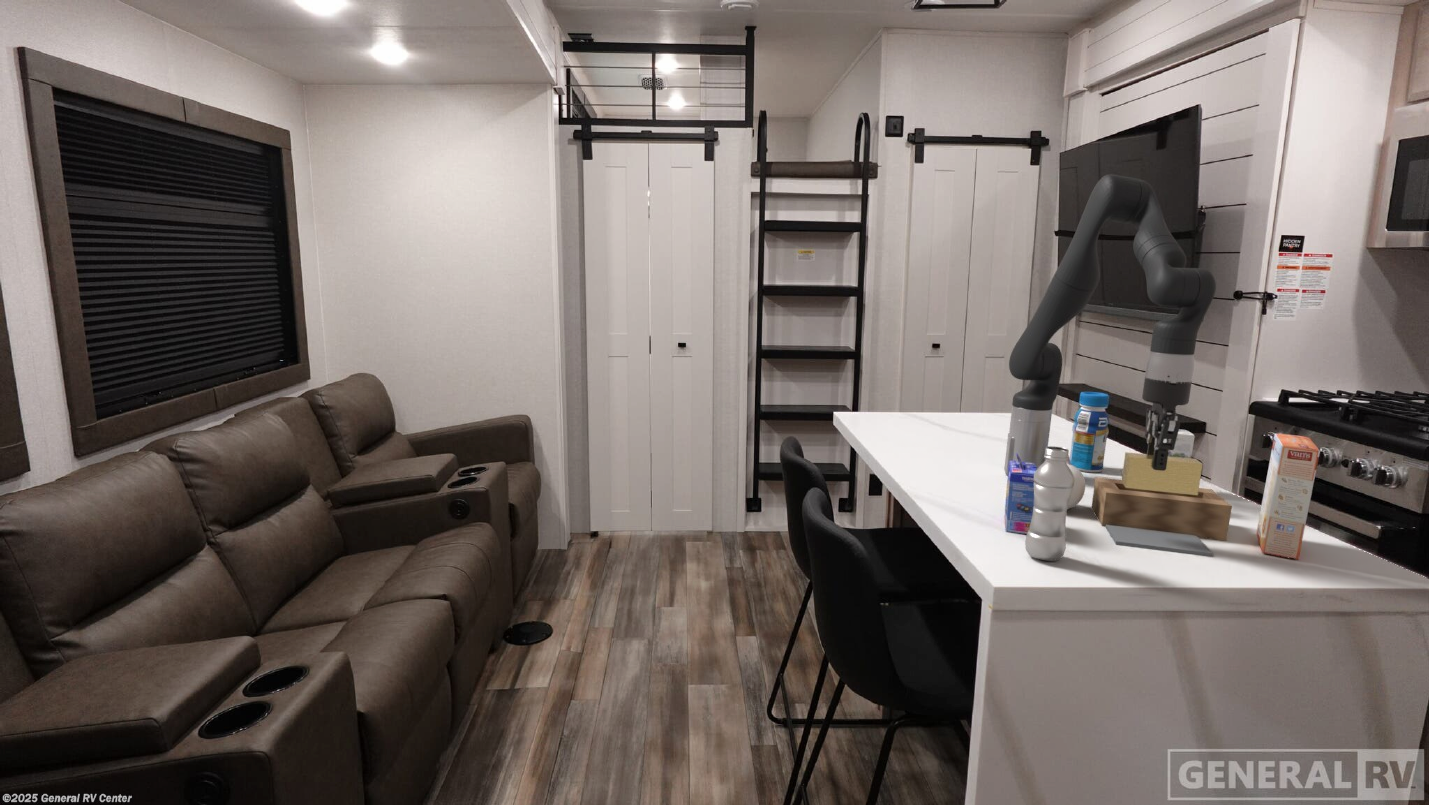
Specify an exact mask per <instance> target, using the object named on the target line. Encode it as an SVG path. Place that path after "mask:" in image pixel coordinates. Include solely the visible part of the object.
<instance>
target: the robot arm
mask: <svg viewBox="0 0 1429 805" xmlns="http://www.w3.org/2000/svg"><path fill="white" fill-rule="evenodd" d="M1106 221H1109V222H1115V223H1120V224H1130V225H1131V226H1132V227H1134V228H1135V229H1136V230H1137V233H1136V234H1135V236H1134V239H1133V243H1132V244H1133V246H1132V248H1133V252H1134V255H1135V258H1136V259H1137V261H1138V262H1139V264H1140V266H1141V267H1142V269H1143V271H1144V273H1145V281H1146V292H1147V297H1148V299H1149V300H1150V301H1151V302H1152V303H1154V304H1156V305H1158V306H1159V307H1166V308H1167V307H1169V308H1170V307H1171V308H1172V307H1173V308H1181V309H1180V310H1179V313H1178V314H1177V315H1176V316H1175V317H1172V318H1167V319H1162V320H1159V321H1157V322H1155V324H1154V325H1153V329H1152V334H1151V336H1152V337H1151V342H1150V351H1149V354H1148V358H1147V362H1146V367H1145V374H1144V381H1143V382H1144V383H1143V390H1142V395H1141V396H1142V397H1141V398H1142V400H1144V402H1148V403H1152V406H1151V407H1150V408H1149V407H1147V408H1146V411H1145V412H1146V414H1145V415H1146V416H1145V434H1144V438H1145V439H1146V443H1147V450H1146V454H1148V455H1153V463H1152V468H1153V469H1154V470H1161V471H1164V470H1166V466H1167V459H1168V451H1170V450H1174V446H1175V442H1176V439H1177V435H1178V431H1179V430H1180V427H1181V421H1180V420H1178V414H1177V412H1176V411H1177V410H1176V408H1177V407H1178V406H1186V405H1187V404H1189V402H1190V396H1191V389H1192V382H1193V376H1194V369H1195V368H1194V367H1195V351H1196V344H1197V336H1198V332H1199V330H1200V327H1201V326H1202V323H1203V321H1204V318H1205V316H1206V314H1207V312H1208V310H1209V308H1210V306H1211V304H1212V303H1213V302H1212V301H1213V300H1214V297H1215V294H1216V289H1217V282H1216V279H1215V277H1214V275H1213V274H1212V272H1211V271H1210V270H1208V269H1205V268H1200V267H1199V268H1197V267H1186V265H1187V256H1186V254H1185V252H1184V250H1183V249H1182V247H1181V245H1180V244H1179V243H1178V242H1177V241H1176V238H1174V236H1173V235H1172V233H1171V231H1170V230H1169V228H1168V225H1167V224H1166V221H1165V218H1164V215H1163V212H1162V209H1161V205H1160V203H1159V200H1158V197H1157V194H1156V192H1155V189H1154V188H1153V186H1152V185H1151V184H1150V183H1149V182H1147V181H1145V180H1143V179H1139V178H1134V177H1130V176H1125V175H1119V174H1111V173H1110V174H1106V175H1103V176H1102V177H1101V178H1100V179H1099V180H1098V181H1097V183H1096V184H1095V186H1094V188H1093V189H1092V192H1091V193H1090V195H1089V198H1088V200H1087V203H1086V205H1085V207H1084V210H1083V213H1082V215H1081V217H1080V220H1079V223H1078V225H1077V227H1076V230H1075V233H1074V235H1073V238H1071V242H1070V244H1069V246H1068V248H1067V250H1066V252H1065V254H1064V256H1063V258H1062V259H1061V261H1060V264H1059V265H1058V267H1057V268H1056V270H1055V273H1054V275H1053V276H1052V278H1051V281H1050V283H1049V285H1048V287H1047V289H1046V292H1045V293H1044V296H1043V297H1042V300H1041V302H1040V303H1039V305H1038V307H1037V309H1036V311H1035V312H1034V315H1033V317H1031V320H1030V322H1029V323H1028V325H1027V326H1026V328H1025V329H1024V331H1023V333H1022V334H1021V335H1020V337H1019V339H1018V340H1017V342H1016V343H1015V345H1014V347H1013V349H1012V350H1011V353H1010V356H1009V360H1008V370H1009V371H1010V375H1011V376H1012V377H1013V378H1015V379H1017V380H1021V381H1029V383H1028V385H1027V386H1026V387H1025V388H1023V389H1021V390H1020V391H1018V392H1015V393H1014V395H1013V396H1012V402H1011V403H1012V405H1011V412H1010V421H1009V431H1008V432H1009V433H1008V434H1007V440H1006V450H1005V459H1004V472H1005V475H1006V476H1008V469H1009V461H1018V459H1017V456H1016V453H1017V454H1018V456H1019V457H1020V460H1021V462H1029V463H1035V464H1036V466H1037V469H1038V468H1039V467H1040V466H1041V465H1042V464H1043V463H1044V462H1045V460H1046V459H1045V458H1044V455H1045V449H1046V447H1048V446H1049V441H1050V431H1051V423H1052V414H1053V407H1054V403H1055V400H1056V399H1057V396H1058V392H1059V387H1060V380H1061V376H1062V375H1061V374H1062V369H1063V355H1062V354H1063V353H1062V352H1061V349H1060V347H1059V346H1058V345H1057V344H1055V343H1053V342H1050V340H1051V339H1052V338H1053V337H1054V336H1055V334H1056V333H1057V332H1058V331H1059V330H1061V329H1062V328H1063V327H1064V326H1065V325H1067V324H1068V323H1069V322H1071V321H1072V320H1073V319H1075V317H1076V316H1077V315H1079V314H1080V313H1081V312H1082V311H1083V310H1084V309H1085V307H1086V306H1087V305H1088V303H1089V301H1090V300H1091V298H1092V296H1093V294H1094V292H1095V290H1096V288H1097V287H1098V284H1099V282H1100V278H1101V271H1100V263H1099V256H1098V247H1097V246H1098V239H1099V237H1100V233H1101V230H1102V228H1103V226H1104V224H1105V222H1106ZM1164 439H1167V443H1163V441H1164Z"/></svg>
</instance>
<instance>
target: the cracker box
mask: <svg viewBox="0 0 1429 805" xmlns="http://www.w3.org/2000/svg"><path fill="white" fill-rule="evenodd" d="M1320 454H1321V450H1320V448H1318V446H1317V445H1316V444H1315V443H1314V442H1313V440H1312V439H1311V438H1310V437H1307V436H1305V435H1304V436H1302V435H1295V434H1285V433H1274V436H1273V441H1272V445H1271V452H1270V457H1269V463H1268V469H1267V475H1266V480H1265V484H1264V485H1265V486H1264V491H1263V495H1262V500H1261V506H1260V513H1259V516H1258V517H1259V518H1258V522H1257V528H1256V536H1257V540H1258V543H1259V546H1260V551H1261V553H1262V554H1266V555H1270V554H1271V556H1275V555H1276V557H1280V556H1281V557H1282V558H1285V557H1289V558H1288V559H1290V558H1294V559H1293V560H1296V559H1298V560H1299V558H1300V554H1301V549H1302V543H1303V539H1304V538H1303V537H1304V533H1305V528H1306V524H1307V523H1306V522H1307V519H1308V513H1309V508H1310V503H1311V498H1312V494H1313V487H1314V483H1315V478H1316V475H1317V474H1316V473H1317V468H1318V463H1319V458H1320ZM1281 557H1280V558H1281Z"/></svg>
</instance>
